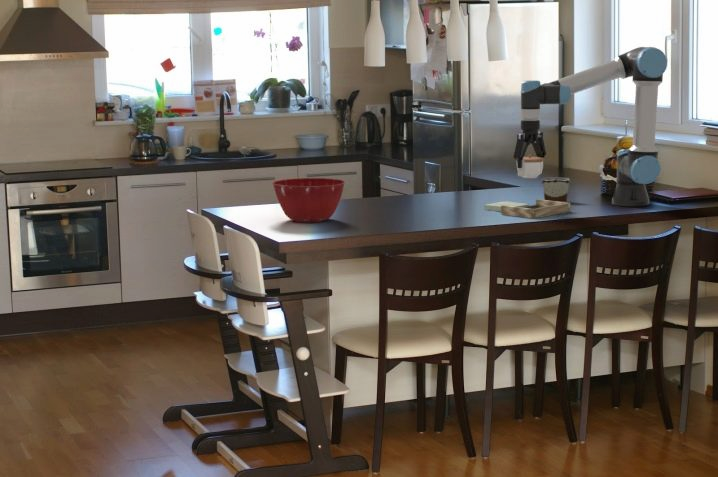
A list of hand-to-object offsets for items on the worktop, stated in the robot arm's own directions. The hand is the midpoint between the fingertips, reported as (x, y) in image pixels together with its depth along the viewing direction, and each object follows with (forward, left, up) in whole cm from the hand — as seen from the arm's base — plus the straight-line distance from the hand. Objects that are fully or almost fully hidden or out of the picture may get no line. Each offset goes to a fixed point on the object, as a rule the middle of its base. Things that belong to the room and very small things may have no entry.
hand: (529, 174), depth 464 cm
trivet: (+12, 0, -15) cm, 19 cm away
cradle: (-3, 0, -15) cm, 15 cm away
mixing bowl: (+52, +72, -15) cm, 90 cm away
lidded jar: (0, 0, -1) cm, 1 cm away
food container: (+11, -31, -15) cm, 36 cm away
